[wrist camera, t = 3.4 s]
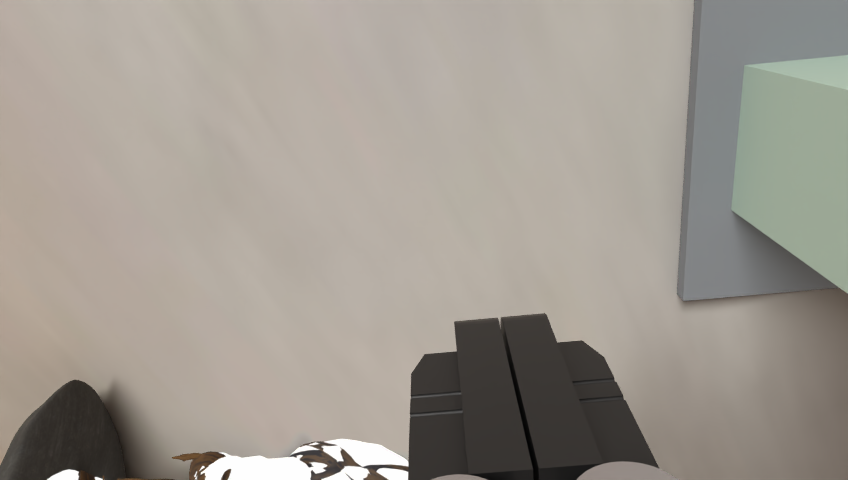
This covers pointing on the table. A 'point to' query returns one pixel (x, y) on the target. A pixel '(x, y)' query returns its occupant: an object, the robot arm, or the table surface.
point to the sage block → (797, 159)
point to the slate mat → (718, 133)
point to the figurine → (209, 472)
